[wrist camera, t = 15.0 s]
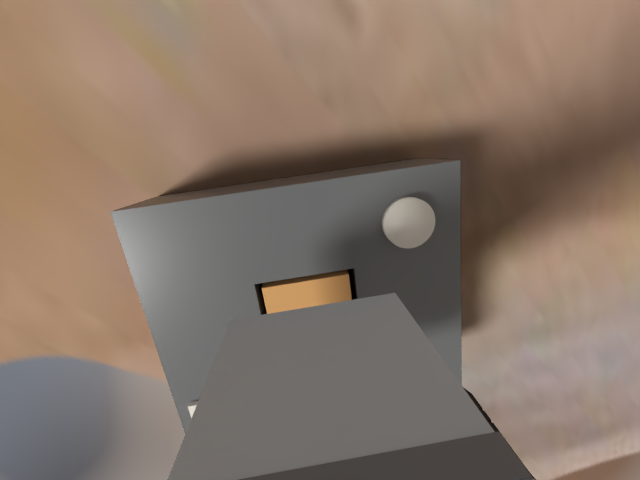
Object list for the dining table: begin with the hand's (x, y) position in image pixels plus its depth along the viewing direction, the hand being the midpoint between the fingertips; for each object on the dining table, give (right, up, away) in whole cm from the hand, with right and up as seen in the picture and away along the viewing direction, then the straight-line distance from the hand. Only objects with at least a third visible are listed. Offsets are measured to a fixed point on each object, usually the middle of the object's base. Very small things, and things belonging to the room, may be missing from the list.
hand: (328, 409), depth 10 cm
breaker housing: (-1, +3, +10) cm, 11 cm away
